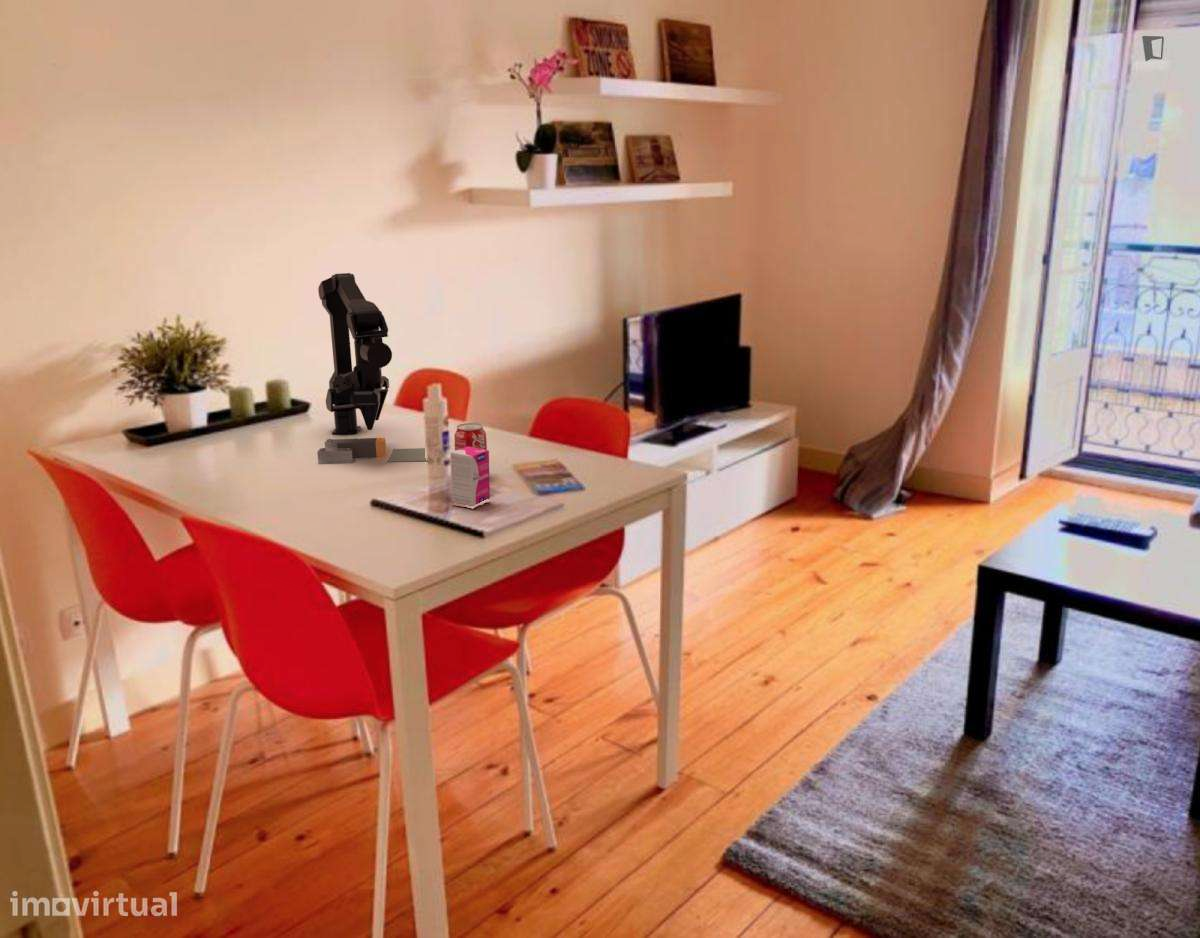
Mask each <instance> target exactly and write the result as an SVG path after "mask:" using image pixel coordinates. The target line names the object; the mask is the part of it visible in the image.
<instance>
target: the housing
mask: <svg viewBox="0 0 1200 938" xmlns="http://www.w3.org/2000/svg"><path fill="white" fill-rule="evenodd" d="M339 439H340V438H338V439H336V438H333V439H332V438H329V439H326V440H325V441H324V447H322V448H319V449H318V450H317V453H316V454H317V462H318V465H319V464H320V465H321V464H322V465H323V464H324V465H325V464H326V465H328V464H330V465H331V464H354V461H355V456H354V448H350V447H348V448H337V442H338V440H339ZM353 439H357V437H356V438H353Z"/></svg>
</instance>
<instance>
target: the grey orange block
mask: <svg viewBox="0 0 1200 938" xmlns="http://www.w3.org/2000/svg"><path fill="white" fill-rule="evenodd" d="M338 439H339V440H338V442H337V448H348V447H350V448H354V456H355V459H376V458H378V459H379V458H380V459H381V458H386V456H387V442H386V437H368V438H365V437H364V438H362V437H361V438H356V439H354V438H338Z"/></svg>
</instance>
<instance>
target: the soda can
mask: <svg viewBox="0 0 1200 938" xmlns="http://www.w3.org/2000/svg"><path fill="white" fill-rule="evenodd" d="M483 427H484V425H483V424H482V423H479V422H466V423H465V422H464V423H461V424H460V423H459V424H458V425H457V426H456V430H455V432H454V451H456V450H459V449H462V448H465V447H467V446H469V447H474V448H479V449H484V450H488V445H487V432H486V431H485V429H484V428H483Z"/></svg>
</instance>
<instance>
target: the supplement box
mask: <svg viewBox="0 0 1200 938" xmlns="http://www.w3.org/2000/svg"><path fill="white" fill-rule="evenodd" d="M450 476H451V477H450V478H451V480H450V482H451V484H450V485H451V503H452V502H453V503H457V504H463V505H469V506H474V505H476V504H478V503H480V502H482V501H484V500H486V499H489V498H490V499H491V496H490V495H491V493H490V492H491V491H490V489H491V487H490V485H491V484H490V451H489V449H487V450H484V449H479V448H474V447H469V446H467V447H465V448H462V449H459V450H456V451H455V450H453V451H450Z"/></svg>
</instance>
